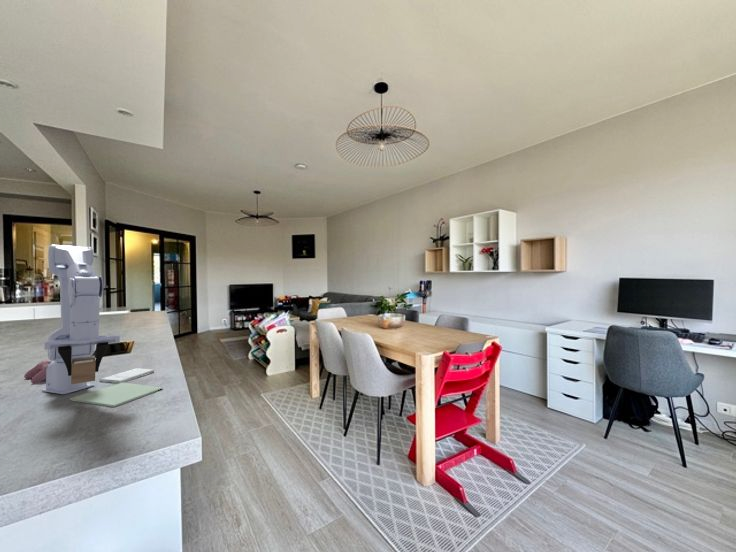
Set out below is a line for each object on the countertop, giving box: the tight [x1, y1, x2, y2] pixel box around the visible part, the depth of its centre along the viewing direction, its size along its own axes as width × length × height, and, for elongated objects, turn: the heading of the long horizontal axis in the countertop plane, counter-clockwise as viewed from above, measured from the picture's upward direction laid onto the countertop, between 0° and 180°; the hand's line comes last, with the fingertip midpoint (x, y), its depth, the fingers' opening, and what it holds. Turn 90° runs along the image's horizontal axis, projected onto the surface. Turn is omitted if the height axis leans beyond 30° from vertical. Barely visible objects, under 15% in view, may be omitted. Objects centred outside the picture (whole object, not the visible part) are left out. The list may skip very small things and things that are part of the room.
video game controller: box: [23, 359, 52, 384], centre depth 102 cm, size 10×5×7 cm, turn 58°
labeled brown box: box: [71, 355, 96, 384], centre depth 82 cm, size 8×4×5 cm, turn 43°
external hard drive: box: [98, 367, 155, 384], centre depth 106 cm, size 2×8×12 cm
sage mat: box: [70, 382, 163, 408], centre depth 89 cm, size 16×14×1 cm
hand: (83, 373), depth 82 cm, fingers closed on labeled brown box, 4 cm apart
